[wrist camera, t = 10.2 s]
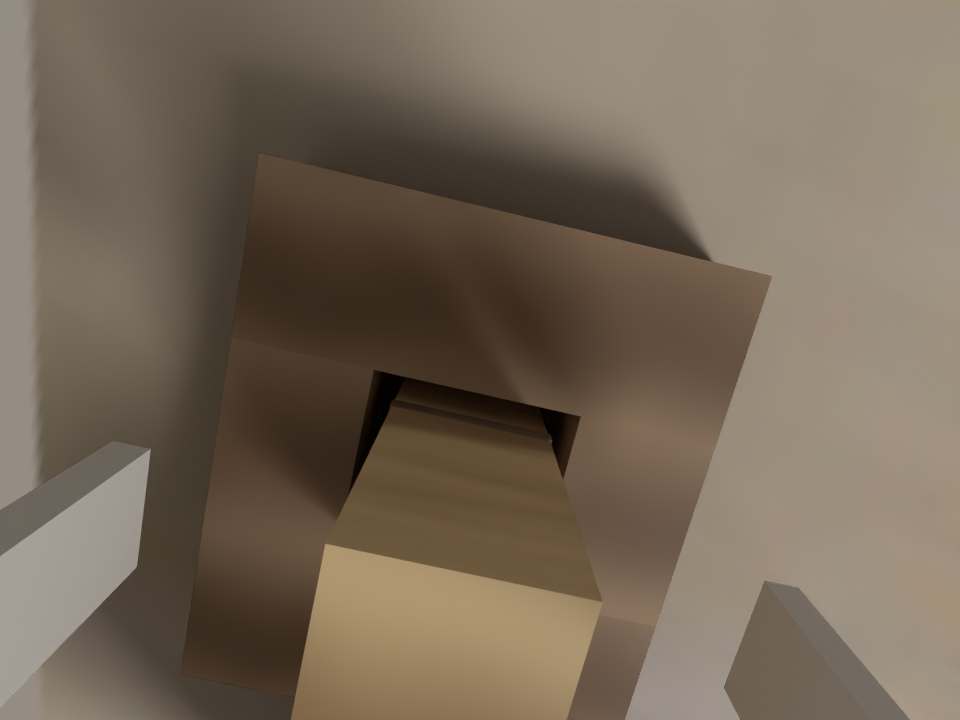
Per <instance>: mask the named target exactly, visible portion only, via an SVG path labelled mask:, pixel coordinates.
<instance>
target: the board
mask: <svg viewBox="0 0 960 720" xmlns="http://www.w3.org/2000/svg"><path fill="white" fill-rule="evenodd" d="M771 278H772V276H769V275H765V274H761V273H757V272H752V271H748V270H744V269H740V268H736V267H732V266H728V265H723V264H719V263H715V262H711V261H707V260H703V259H699V258H694V257H690V256H686V255H682V254H678V253H674V252H670V251H665V250H661V249H657V248H653V247H649V246H645V245H640V244H636V243H632V242H628V241H624V240H620V239H616V238H611V237H607V236H603V235H599V234H595V233H591V232H587V231H582V230H578V229H574V228H570V227H566V226H562V225H558V224H553V223H549V222H545V221H541V220H537V219H533V218H529V217H524V216H520V215H516V214H512V213H508V212H504V211H499V210H495V209H491V208H487V207H483V206H479V205H475V204H470V203H466V202H462V201H458V200H454V199H450V198H446V197H441V196H437V195H433V194H429V193H425V192H421V191H417V190H412V189H408V188H404V187H400V186H396V185H392V184H388V183H383V182H379V181H375V180H371V179H367V178H363V177H358V176H354V175H350V174H346V173H342V172H338V171H334V170H329V169H325V168H321V167H317V166H313V165H309V164H305V163H300V162H296V161H292V160H288V159H284V158H280V157H276V156H271V155H267V154H263V153H259V155H258V162H257V169H256V175H255V182H254V188H253V195H252V202H251V208H250V215H249V222H248V228H247V235H246V242H245V248H244V255H243V262H242V268H241V275H240V282H239V288H238V295H237V302H236V308H235V315H234V322H233V328H232V335H231V341H230V348H229V355H228V361H227V368H226V375H225V381H224V388H223V395H222V401H221V408H220V415H219V421H218V428H217V435H216V441H215V448H214V455H213V461H212V468H211V475H210V481H209V488H208V494H207V501H206V508H205V514H204V521H203V528H202V534H201V541H200V548H199V554H198V561H197V568H196V574H195V581H194V588H193V594H192V601H191V608H190V614H189V621H188V628H187V634H186V641H185V647H184V654H183V661H182V667H181V674H180V675H184V676H189V677H194V678H199V679H204V680H209V681H215V682H220V683H225V684H230V685H235V686H240V687H245V688H250V689H255V690H260V691H265V692H271V693H276V694H281V695H286V696H291V697H295V695H296V690H297V685H298V680H299V675H300V670H301V665H302V660H303V655H304V650H305V645H306V640H307V634H308V629H309V624H310V619H311V614H312V609H313V604H314V599H315V594H316V589H317V584H318V579H319V574H320V569H321V563H322V558H323V553H324V548H325V544H326V541H327V539H328V537H329V535H330V533H331V531H332V529H333V527H334V525H335V523H336V521H337V519H338V517H339V515H340V512H341V510H342V508H343V506H344V504H345V502H346V500H347V498H348V496H349V494H350V492H351V490H352V488H353V486H354V483H355V481H356V479H357V477H358V475H359V473H360V471H361V469H362V467H363V465H364V463H365V461H366V459H367V457H368V454H369V452H370V450H371V446H372V441H373V437H374V432H375V427H376V422H377V417H378V412H379V408H380V403H381V398H382V393H383V388H384V384H385V379H386V374H387V373H391V374H395V375H399V376H404V377H408V378H413V379H417V380H422V381H426V382H431V383H435V384H439V385H444V386H448V387H453V388H457V389H462V390H466V391H471V392H475V393H479V394H484V395H488V396H493V397H497V398H502V399H506V400H511V401H515V402H519V403H524V404H528V405H533V406H537V407H542V408H546V409H550V410H554V414H553V418H552V422H551V425H550V429H549V433H548V434H551V437H552V444H551V445H552V448H553V451H554V454H555V457H556V460H557V464H558V467H559V470H560V473H561V476H562V479H563V482H564V485H565V488H566V491H567V494H568V497H569V500H570V503H571V506H572V509H573V512H574V515H575V518H576V521H577V525H578V528H579V531H580V534H581V537H582V540H583V543H584V546H585V549H586V552H587V555H588V558H589V561H590V564H591V567H592V570H593V573H594V576H595V579H596V583H597V586H598V589H599V592H600V595H601V598H602V601H603V604H602V607H601V610H600V613H599V616H598V620H597V623H596V626H595V629H594V633H593V636H592V639H591V642H590V646H589V649H588V652H587V655H586V659H585V662H584V665H583V668H582V671H581V675H580V678H579V681H578V684H577V688H576V691H575V694H574V697H573V701H572V704H571V707H570V710H569V714H568V717H567V720H625V717H626V714H627V711H628V708H629V705H630V702H631V699H632V696H633V693H634V690H635V687H636V684H637V681H638V678H639V675H640V672H641V669H642V666H643V663H644V660H645V657H646V654H647V651H648V648H649V645H650V642H651V639H652V636H653V633H654V630H655V627H656V624H657V621H658V618H659V615H660V612H661V609H662V606H663V603H664V600H665V597H666V594H667V591H668V588H669V585H670V582H671V579H672V576H673V573H674V570H675V567H676V564H677V560H678V557H679V554H680V551H681V548H682V545H683V542H684V539H685V536H686V533H687V530H688V527H689V524H690V521H691V518H692V515H693V512H694V509H695V506H696V503H697V500H698V497H699V494H700V491H701V488H702V485H703V482H704V479H705V476H706V473H707V470H708V467H709V464H710V461H711V458H712V455H713V452H714V449H715V446H716V443H717V440H718V437H719V434H720V431H721V428H722V425H723V422H724V419H725V416H726V413H727V410H728V407H729V404H730V401H731V398H732V395H733V392H734V389H735V386H736V383H737V380H738V377H739V374H740V371H741V368H742V365H743V362H744V359H745V356H746V353H747V350H748V347H749V344H750V341H751V338H752V335H753V332H754V329H755V326H756V323H757V320H758V317H759V314H760V311H761V308H762V305H763V302H764V299H765V296H766V293H767V290H768V287H769V284H770V281H771Z"/></svg>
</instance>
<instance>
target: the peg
mask: <svg viewBox="0 0 960 720" xmlns="http://www.w3.org/2000/svg"><path fill="white" fill-rule="evenodd" d="M551 444H552V437H551V434H548V433H547V430H546V427H545V424H544V421H543V418H542V415H541V412H540V409H539V407H537V406H533V405H528V404H524V403H519V402H515V401H511V400H506V399H502V398H497V397H493V396H488V395H484V394H479V393H475V392H471V391H466V390H462V389H457V388H453V387H448V386H444V385H439V384H435V383H431V382H426V381H422V380H417V379H413V378H408V377H406V378H405V380H404V382H403V384H402V386H401V388H400V390H399V392H398V394H397V397H396V399H393V400H392V402H391V404H390V408H389V413H388V415H387V417H386V419H385V421H384V423H383V426H382V428H381V430H380V432H379V434H378V436H377V438H376V440H375V442H374V444H373V446H372V448H371V450H370V452H369V454H368V457H367V459H366V461H365V463H364V465H363V467H362V469H361V471H360V473H359V475H358V477H357V479H356V481H355V483H354V486H353V488H352V490H351V492H350V494H349V496H348V498H347V500H346V502H345V504H344V506H343V508H342V510H341V512H340V515H339V517H338V519H337V521H336V523H335V525H334V527H333V529H332V531H331V533H330V535H329V537H328V539H327V541H326V544H325V548H324V553H323V558H322V563H321V569H320V574H319V579H318V584H317V589H316V594H315V599H314V604H313V609H312V614H311V619H310V624H309V629H308V634H307V640H306V645H305V650H304V655H303V660H302V665H301V670H300V675H299V680H298V685H297V690H296V695H295V700H294V705H293V711H292V716H291V720H567V717H568V714H569V710H570V707H571V704H572V701H573V697H574V694H575V691H576V688H577V684H578V681H579V678H580V675H581V671H582V668H583V665H584V662H585V659H586V655H587V652H588V649H589V646H590V642H591V639H592V636H593V633H594V629H595V626H596V623H597V620H598V616H599V613H600V610H601V607H602V604H603V601H602V598H601V595H600V592H599V589H598V586H597V583H596V579H595V576H594V573H593V570H592V567H591V564H590V561H589V558H588V555H587V552H586V549H585V546H584V543H583V540H582V537H581V534H580V531H579V528H578V525H577V521H576V518H575V515H574V512H573V509H572V506H571V503H570V500H569V497H568V494H567V491H566V488H565V485H564V482H563V479H562V476H561V473H560V470H559V467H558V464H557V460H556V457H555V454H554V451H553V448H552V445H551Z"/></svg>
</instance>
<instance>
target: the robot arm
mask: <svg viewBox="0 0 960 720" xmlns="http://www.w3.org/2000/svg"><path fill="white" fill-rule="evenodd" d="M150 452H151V449H150V448H145V447H140V446H136V445H131V444H126V443H122V442H117V441H112V442H110V443H108V444H107V445H105V446H104V447H102V448H100V449H99V450H97V451H95V452H94V453H92V454H91V455H89V456H87V457H86V458H84V459H83V460H81V461H79V462H78V463H76V464H74V465H73V466H71V467H70V468H68V469H66V470H65V471H63V472H62V473H60V474H58V475H57V476H55V477H53V478H52V479H50V480H49V481H47V482H45V483H44V484H42V485H41V486H39V487H37V488H36V489H34V490H32V491H31V492H29V493H28V494H26V495H24V496H23V497H21V498H19V499H18V500H16V501H15V502H13V503H12V504H10V505H8V506H7V507H5V508H3V509H2V510H0V707H1V706H2V705H3V704H4V703H5V702H6V701H7V700H8V699H9V698H10V697H11V696H12V695H13V694H14V693H15V692H16V691H17V690H18V689H19V688H20V687H21V686H22V685H23V684H24V683H25V682H26V681H27V680H28V678H29V677H30V676H31V675H32V674H33V673H34V672H35V671H36V670H37V669H38V668H39V667H40V666H41V665H42V664H43V663H44V662H45V661H46V660H47V659H48V658H49V657H50V656H51V655H52V654H53V653H54V652H55V651H56V650H57V649H58V648H59V647H60V646H61V645H62V644H63V643H64V642H65V640H66V639H67V638H68V637H69V636H70V635H71V634H72V633H73V632H74V631H75V630H76V629H77V628H78V627H79V626H80V625H81V624H82V623H83V622H84V621H85V620H86V619H87V618H88V617H89V616H90V615H91V614H92V613H93V612H94V611H95V610H96V609H97V608H98V607H99V606H100V605H101V603H102V602H103V601H104V600H105V599H106V598H107V597H108V596H109V595H110V594H111V593H112V592H113V591H114V590H115V589H116V588H117V587H118V586H119V585H120V584H121V583H122V582H123V581H124V580H125V579H126V578H127V577H128V576H129V575H130V574H131V573H132V572H133V571H134V570H135V569H136V568H137V563H138V554H139V546H140V537H141V529H142V520H143V512H144V503H145V495H146V486H147V477H148V469H149V460H150ZM724 689H725V690H726V692H727V694H728V696H729V698H730V700H731V702H732V704H733V706H734V708H735V710H736V712H737V714H738V716H739V718H740V720H910V719H909V718H908V717H907V716H906V714H905V713H904V712H903V711H902V710H901V709H900V707H899V706H898V705H897V704H896V703H895V701H894V700H893V699H892V698H891V697H890V696H889V694H888V693H887V692H886V691H885V690H884V688H883V687H882V686H881V685H880V684H879V682H878V681H877V680H876V679H875V678H874V677H873V675H872V674H871V673H870V672H869V671H868V669H867V668H866V667H865V666H864V665H863V664H862V662H861V661H860V660H859V659H858V658H857V656H856V655H855V654H854V653H853V652H852V651H851V649H850V648H849V647H848V646H847V645H846V643H845V642H844V641H843V640H842V639H841V637H840V636H839V635H838V634H837V633H836V632H835V630H834V629H833V628H832V627H831V626H830V624H829V623H828V622H827V621H826V620H825V619H824V617H823V616H822V615H821V614H820V613H819V611H818V610H817V609H816V608H815V607H814V606H813V604H812V603H811V602H810V601H809V600H808V598H807V597H806V596H805V595H804V594H803V592H802V591H801V590H800V589H799V588H796V587H792V586H787V585H782V584H778V583H773V582H768V581H764V584H763V587H762V589H761V592H760V595H759V597H758V600H757V602H756V605H755V608H754V610H753V613H752V615H751V618H750V621H749V623H748V626H747V628H746V631H745V634H744V636H743V639H742V641H741V644H740V647H739V649H738V652H737V654H736V657H735V660H734V662H733V665H732V667H731V670H730V673H729V675H728V678H727V680H726V683H725V686H724Z"/></svg>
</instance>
